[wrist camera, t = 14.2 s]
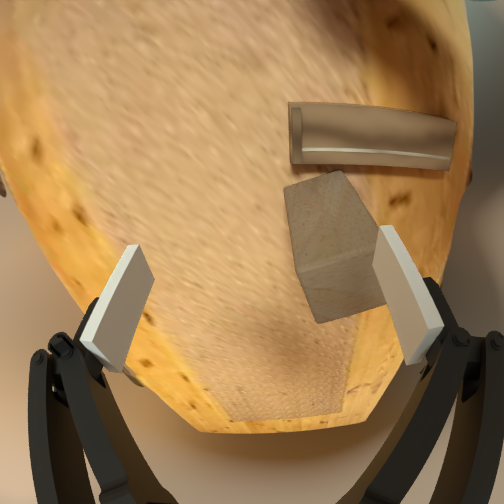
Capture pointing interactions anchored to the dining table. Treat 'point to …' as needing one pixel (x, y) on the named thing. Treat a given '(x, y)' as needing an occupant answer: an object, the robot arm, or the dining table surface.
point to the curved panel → (368, 136)
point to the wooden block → (333, 246)
